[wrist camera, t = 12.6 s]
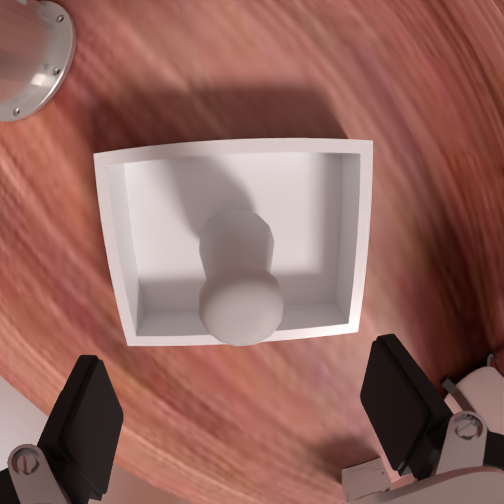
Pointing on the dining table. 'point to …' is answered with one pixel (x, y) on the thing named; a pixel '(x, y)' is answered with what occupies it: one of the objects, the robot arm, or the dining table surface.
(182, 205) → the bin
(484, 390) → the coffee press
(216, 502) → the dining table surface
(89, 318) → the dining table surface
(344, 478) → the supplement box
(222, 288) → the salt shaker
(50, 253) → the dining table surface
